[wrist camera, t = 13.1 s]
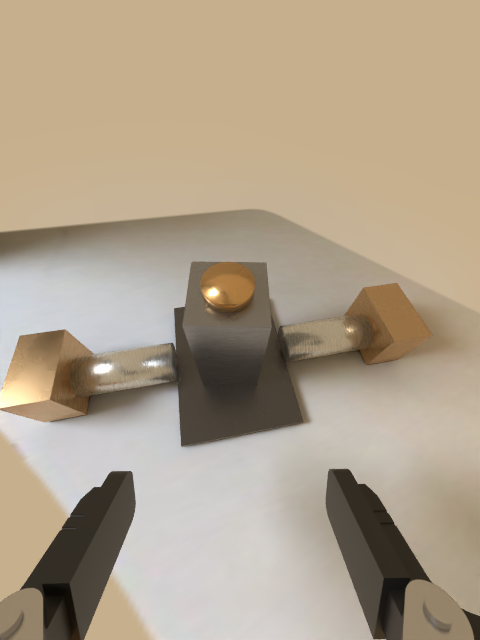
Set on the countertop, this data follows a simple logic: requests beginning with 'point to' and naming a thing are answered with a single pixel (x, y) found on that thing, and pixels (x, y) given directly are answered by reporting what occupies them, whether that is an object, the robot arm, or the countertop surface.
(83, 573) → the robot arm
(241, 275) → the gold-capped grey pillar
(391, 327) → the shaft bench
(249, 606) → the countertop surface
